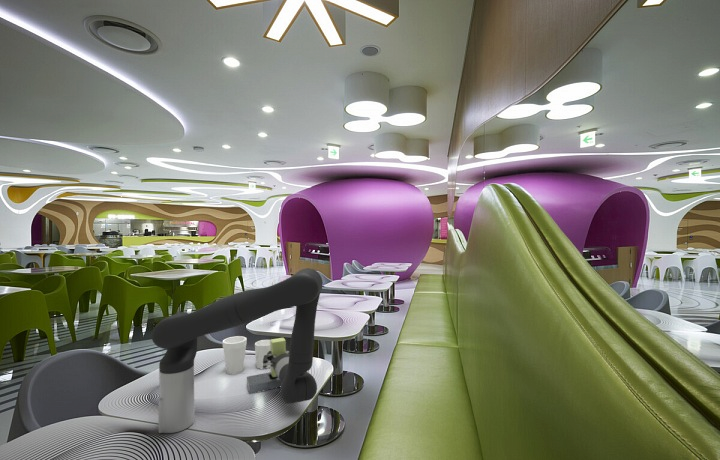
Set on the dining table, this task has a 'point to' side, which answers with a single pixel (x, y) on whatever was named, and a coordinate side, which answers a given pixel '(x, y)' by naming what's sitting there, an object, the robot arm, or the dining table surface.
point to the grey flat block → (262, 382)
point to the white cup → (261, 352)
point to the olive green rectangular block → (277, 349)
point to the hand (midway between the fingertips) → (276, 352)
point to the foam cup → (234, 353)
